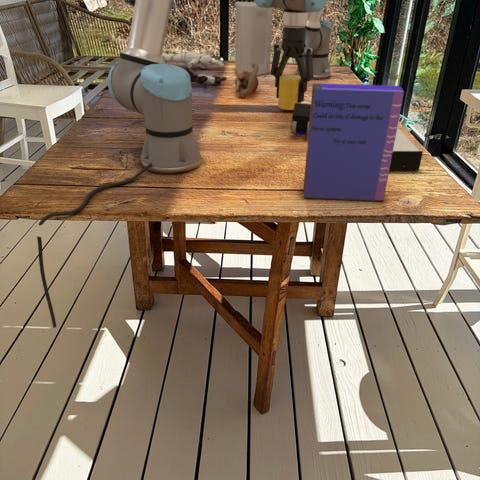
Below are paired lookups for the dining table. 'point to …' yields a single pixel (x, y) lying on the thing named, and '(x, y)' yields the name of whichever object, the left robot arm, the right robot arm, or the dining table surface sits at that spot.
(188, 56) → the toy
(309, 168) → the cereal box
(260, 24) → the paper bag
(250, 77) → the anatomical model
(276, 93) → the left robot arm
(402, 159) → the disc drive
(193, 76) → the figurine
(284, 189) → the dining table surface
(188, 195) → the dining table surface
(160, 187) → the dining table surface
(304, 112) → the figurine character
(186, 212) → the dining table surface
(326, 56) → the right robot arm
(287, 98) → the tin
